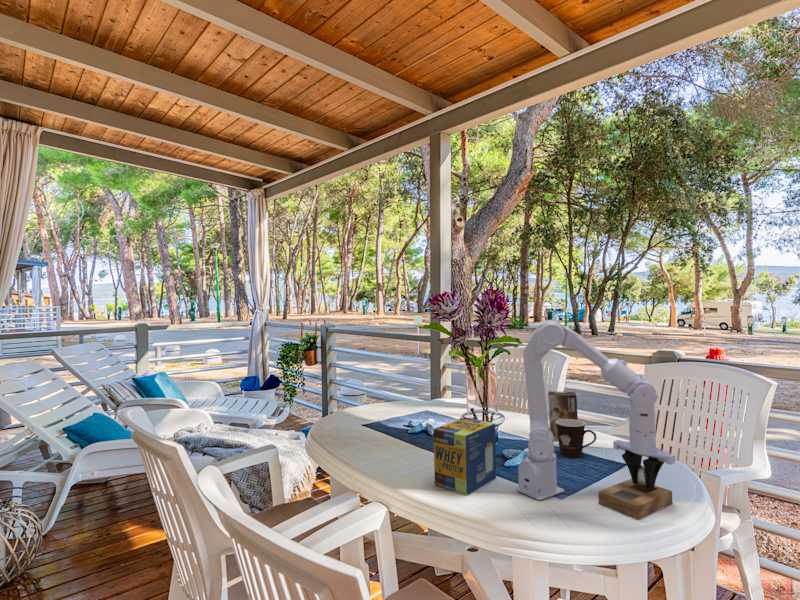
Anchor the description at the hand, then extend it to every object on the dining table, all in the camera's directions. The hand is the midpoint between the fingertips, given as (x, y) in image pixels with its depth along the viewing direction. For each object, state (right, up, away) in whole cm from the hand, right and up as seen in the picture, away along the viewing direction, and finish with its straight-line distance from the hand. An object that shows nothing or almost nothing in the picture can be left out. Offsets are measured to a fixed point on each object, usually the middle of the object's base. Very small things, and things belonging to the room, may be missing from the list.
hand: (643, 485), depth 117 cm
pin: (0, -2, 0) cm, 2 cm away
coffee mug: (-5, -4, +32) cm, 33 cm away
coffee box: (-3, -3, +49) cm, 49 cm away
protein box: (-41, -5, +14) cm, 44 cm away
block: (-3, -4, -2) cm, 5 cm away
